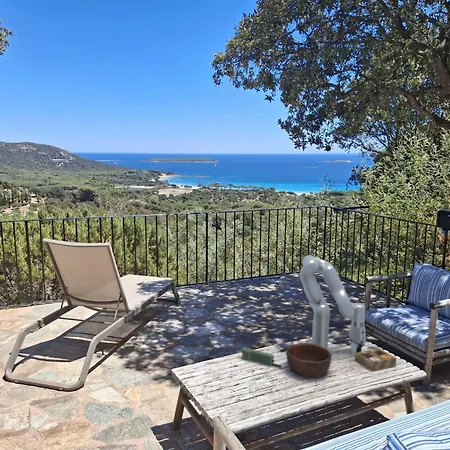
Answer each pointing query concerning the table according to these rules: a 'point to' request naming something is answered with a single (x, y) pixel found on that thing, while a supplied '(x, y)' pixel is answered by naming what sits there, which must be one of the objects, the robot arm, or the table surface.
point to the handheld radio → (258, 357)
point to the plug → (354, 347)
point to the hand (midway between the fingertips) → (356, 351)
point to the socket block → (375, 359)
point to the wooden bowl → (308, 359)
